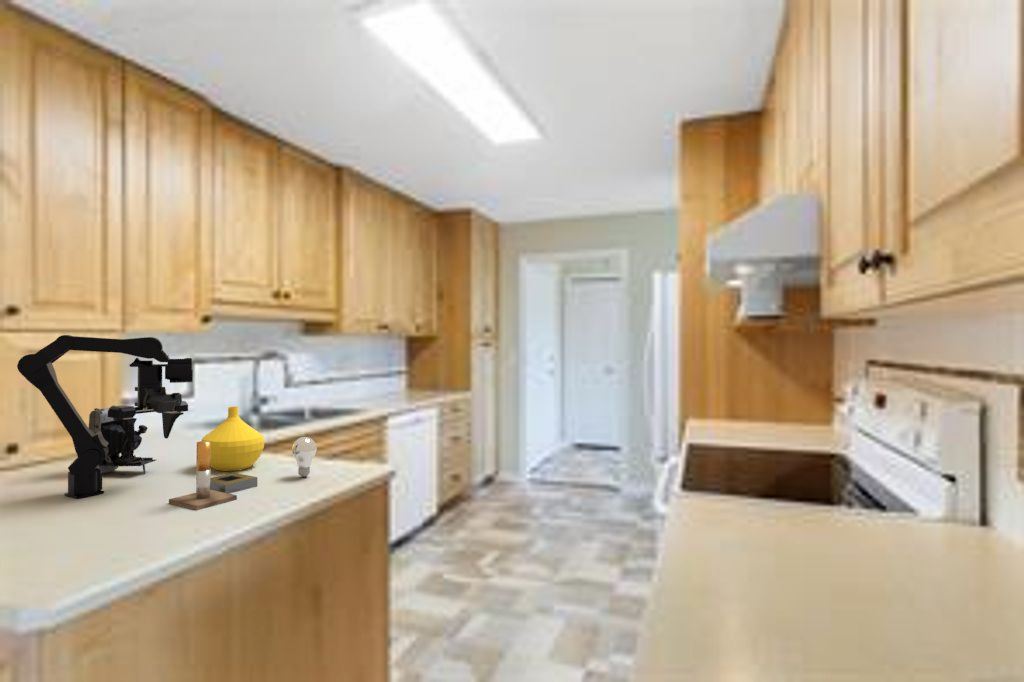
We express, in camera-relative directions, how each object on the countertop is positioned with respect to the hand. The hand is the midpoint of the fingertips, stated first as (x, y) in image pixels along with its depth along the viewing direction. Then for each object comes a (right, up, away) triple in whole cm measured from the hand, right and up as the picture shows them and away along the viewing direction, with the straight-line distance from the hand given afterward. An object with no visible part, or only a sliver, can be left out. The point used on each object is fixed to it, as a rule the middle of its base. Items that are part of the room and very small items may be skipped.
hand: (149, 440), depth 163 cm
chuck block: (+20, -13, +3) cm, 25 cm away
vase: (+10, -13, +26) cm, 31 cm away
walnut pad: (+20, -14, -11) cm, 26 cm away
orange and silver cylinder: (+20, -13, -11) cm, 26 cm away
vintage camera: (-18, -13, +16) cm, 27 cm away
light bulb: (+36, -14, +16) cm, 42 cm away
